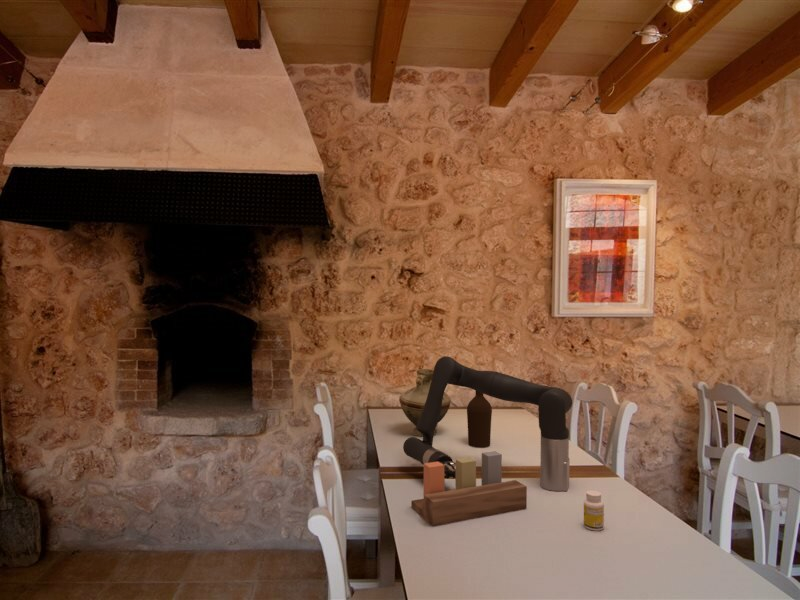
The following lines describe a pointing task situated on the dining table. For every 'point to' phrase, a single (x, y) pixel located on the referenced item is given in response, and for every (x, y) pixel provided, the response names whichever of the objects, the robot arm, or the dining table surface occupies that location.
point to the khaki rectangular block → (465, 473)
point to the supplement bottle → (593, 511)
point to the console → (471, 502)
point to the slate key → (491, 468)
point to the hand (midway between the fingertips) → (462, 478)
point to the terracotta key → (433, 477)
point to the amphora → (420, 399)
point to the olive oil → (479, 421)
